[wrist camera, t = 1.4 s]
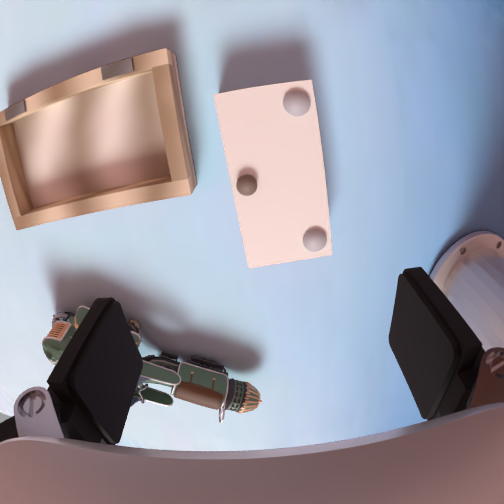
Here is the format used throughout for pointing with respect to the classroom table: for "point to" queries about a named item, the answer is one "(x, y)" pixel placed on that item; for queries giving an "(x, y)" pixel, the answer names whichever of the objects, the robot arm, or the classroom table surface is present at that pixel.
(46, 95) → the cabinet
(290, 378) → the classroom table surface
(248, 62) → the classroom table surface
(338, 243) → the classroom table surface
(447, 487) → the robot arm
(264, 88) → the pale pink knobbed block
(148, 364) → the hoverbike
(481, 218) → the classroom table surface
